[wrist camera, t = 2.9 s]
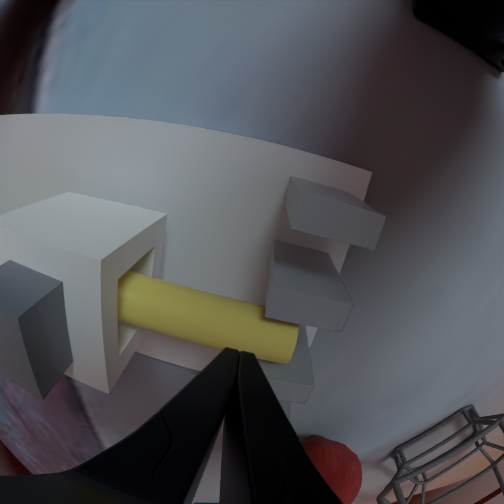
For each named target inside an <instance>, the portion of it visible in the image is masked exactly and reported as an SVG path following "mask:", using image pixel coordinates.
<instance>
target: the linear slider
mask: <svg viewBox="0 0 504 504" xmlns="http://www.w3.org/2000/svg"><path fill="white" fill-rule="evenodd" d="M371 175H372V172H370V171H367V170H364V169H361V168H358V167H355V166H352V165H349V164H346V163H343V162H339V161H336V160H333V159H330V158H326V157H323V156H320V155H316V154H313V153H309V152H306V151H302V150H298V149H295V148H291V147H287V146H283V145H279V144H275V143H271V142H267V141H263V140H258V139H254V138H250V137H245V136H240V135H236V134H231V133H226V132H221V131H215V130H210V129H204V128H199V127H193V126H186V125H180V124H173V123H166V122H159V121H151V120H142V119H133V118H123V117H111V116H97V115H78V114H14V115H0V215H3V214H6V213H8V212H11V211H14V210H16V209H19V208H22V207H25V206H27V205H30V204H33V203H36V202H39V201H42V200H45V199H48V198H51V197H54V196H57V195H60V194H64V193H67V192H72V193H76V194H81V195H86V196H90V197H95V198H99V199H104V200H109V201H113V202H118V203H122V204H127V205H131V206H136V207H140V208H144V209H149V210H153V211H158V212H162V213H166V214H167V220H166V227H165V234H164V241H163V249H162V257H161V266H160V275H159V279H157V278H153V277H150V276H146V275H143V274H139V273H136V272H132V271H129V270H127V271H126V272H125V273H124V274H123V275H122V276H121V277H120V278H119V279H118V293H117V316H118V320H120V321H123V322H126V323H129V324H132V325H135V326H138V327H141V328H144V329H147V330H148V332H147V333H146V335H145V337H144V338H143V340H142V341H141V343H140V345H139V346H138V348H137V350H136V351H135V352H138V353H141V354H144V355H147V356H150V357H153V358H156V359H159V360H162V361H166V362H169V363H172V364H176V365H179V366H183V367H186V368H190V369H193V370H197V371H201V370H202V369H203V368H205V367H206V366H207V365H208V364H209V363H210V362H211V361H212V360H213V359H214V358H215V357H216V356H217V355H218V354H219V353H220V352H221V351H222V350H223V349H224V348H225V347H229V348H234V349H238V350H239V353H240V351H247V352H251V353H254V354H255V356H256V358H257V360H258V362H259V364H260V365H261V367H262V369H263V371H264V373H265V375H266V377H267V379H268V381H269V383H270V385H271V387H272V389H273V391H274V393H275V395H276V397H277V399H278V401H279V402H280V404H281V406H282V408H283V410H284V412H285V414H286V416H287V418H288V419H289V421H290V402H296V403H304V404H305V402H306V401H307V399H308V397H309V395H310V393H311V392H312V390H313V388H314V379H313V372H312V365H311V358H310V351H309V348H310V346H311V344H312V342H313V339H314V337H315V335H316V332H317V330H318V328H321V329H326V330H331V331H336V332H342V330H343V327H344V325H345V323H346V321H347V318H348V316H349V314H350V312H351V309H352V307H353V303H352V301H351V298H350V296H349V294H348V292H347V290H346V288H345V286H344V284H343V282H342V280H341V278H340V275H339V274H340V271H341V268H342V266H343V263H344V260H345V257H346V254H347V251H348V249H349V246H350V244H351V245H354V246H358V247H362V248H365V249H369V250H372V251H375V249H376V246H377V243H378V240H379V238H380V235H381V232H382V229H383V226H384V223H385V220H386V216H385V215H383V214H382V213H380V212H379V211H377V210H376V209H374V208H372V207H371V206H369V205H368V204H366V203H364V199H365V196H366V192H367V189H368V185H369V182H370V178H371Z"/></svg>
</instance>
